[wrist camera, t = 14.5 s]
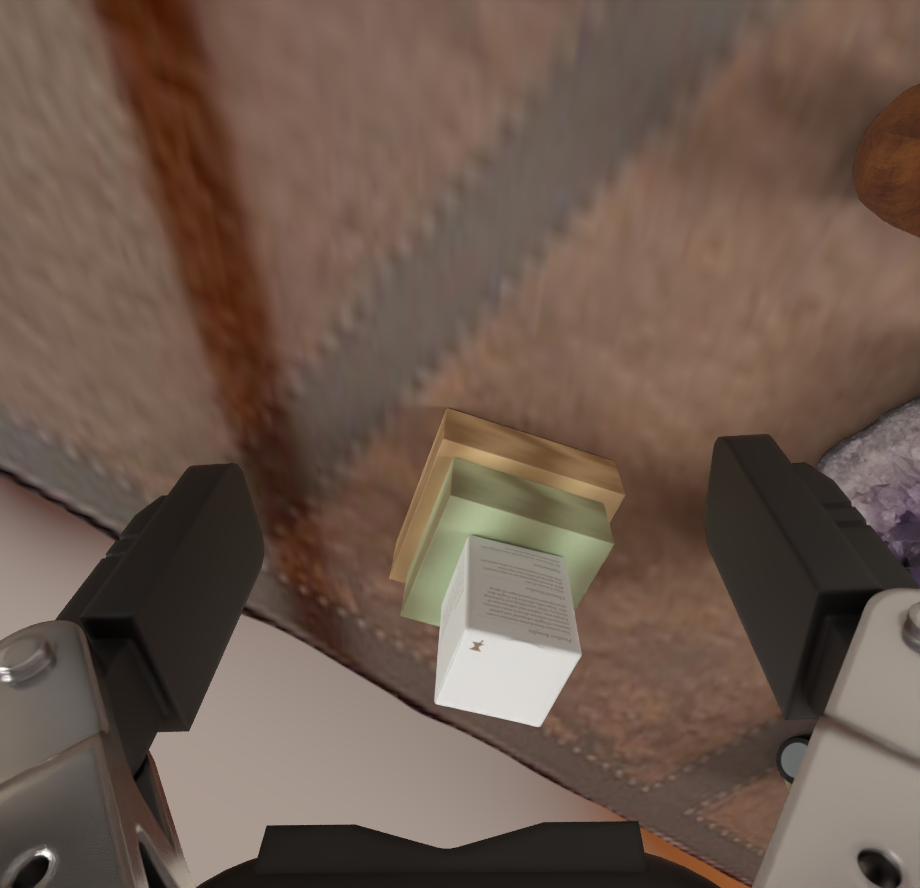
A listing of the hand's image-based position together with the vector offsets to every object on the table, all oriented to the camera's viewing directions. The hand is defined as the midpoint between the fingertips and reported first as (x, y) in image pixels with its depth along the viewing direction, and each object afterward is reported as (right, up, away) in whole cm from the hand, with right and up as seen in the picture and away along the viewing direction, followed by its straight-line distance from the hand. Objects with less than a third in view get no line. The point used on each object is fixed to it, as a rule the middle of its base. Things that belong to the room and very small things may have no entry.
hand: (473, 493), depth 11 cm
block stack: (+3, -3, +35) cm, 35 cm away
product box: (+2, -7, +28) cm, 29 cm away
